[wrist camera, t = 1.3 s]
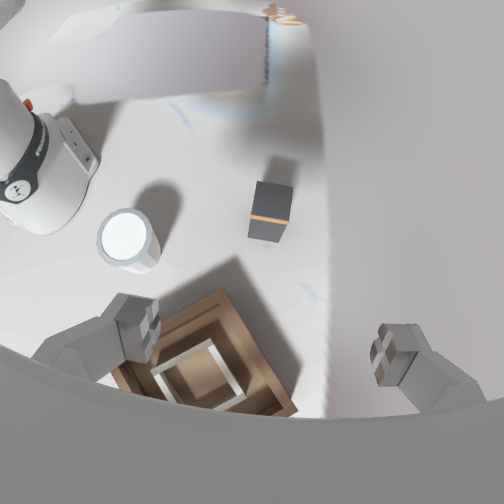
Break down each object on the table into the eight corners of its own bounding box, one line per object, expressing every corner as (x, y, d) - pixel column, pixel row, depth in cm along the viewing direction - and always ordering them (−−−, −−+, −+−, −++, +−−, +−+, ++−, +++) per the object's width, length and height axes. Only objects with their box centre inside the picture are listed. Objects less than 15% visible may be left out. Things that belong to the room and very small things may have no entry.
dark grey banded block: (247, 237, 39) (251, 214, 31) (252, 209, 40) (256, 180, 32) (278, 242, 39) (288, 220, 31) (282, 214, 40) (293, 187, 33)
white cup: (114, 234, 38) (93, 216, 31) (161, 222, 39) (147, 200, 32) (121, 283, 37) (99, 272, 30) (170, 271, 37) (156, 258, 31)
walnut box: (117, 352, 34) (101, 354, 29) (224, 293, 37) (222, 287, 32) (181, 456, 31) (175, 472, 26) (290, 401, 34) (298, 410, 29)
